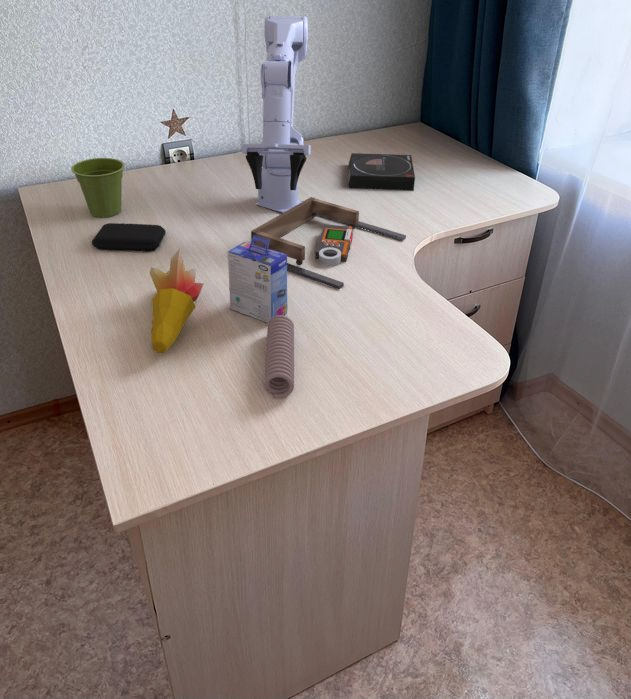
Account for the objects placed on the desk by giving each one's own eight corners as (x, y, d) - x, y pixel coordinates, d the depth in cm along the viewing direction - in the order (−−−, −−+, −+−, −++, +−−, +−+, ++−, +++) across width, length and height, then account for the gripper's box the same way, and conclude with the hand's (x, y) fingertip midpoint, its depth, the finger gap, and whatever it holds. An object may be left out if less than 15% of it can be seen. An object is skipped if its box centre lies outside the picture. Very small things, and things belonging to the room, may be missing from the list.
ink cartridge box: (289, 311, 124) (288, 242, 116) (272, 325, 121) (270, 254, 112) (247, 296, 129) (243, 228, 120) (229, 309, 125) (224, 239, 116)
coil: (266, 313, 116) (262, 378, 102) (292, 311, 116) (292, 375, 101) (269, 335, 119) (266, 401, 104) (295, 333, 119) (295, 398, 104)
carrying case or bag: (169, 232, 151) (105, 230, 152) (168, 220, 150) (103, 218, 150) (158, 254, 143) (90, 252, 143) (156, 242, 141) (87, 239, 141)
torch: (159, 378, 114) (176, 287, 132) (198, 361, 112) (210, 271, 130) (128, 347, 109) (150, 257, 127) (168, 329, 106) (185, 240, 125)
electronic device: (313, 256, 138) (324, 222, 150) (313, 268, 140) (324, 233, 151) (346, 259, 137) (354, 224, 149) (345, 271, 139) (353, 236, 151)
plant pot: (138, 215, 158) (131, 169, 151) (88, 226, 153) (79, 179, 146) (122, 198, 166) (115, 153, 159) (74, 208, 161) (64, 162, 154)
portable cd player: (348, 167, 186) (349, 153, 184) (409, 169, 186) (411, 155, 183) (347, 190, 173) (348, 175, 171) (413, 192, 172) (415, 177, 170)
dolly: (251, 250, 144) (250, 231, 141) (311, 214, 159) (311, 196, 156) (301, 267, 138) (301, 248, 135) (358, 228, 153) (359, 210, 150)
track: (237, 253, 143) (237, 249, 143) (311, 209, 161) (311, 206, 161) (339, 289, 131) (339, 286, 131) (405, 238, 150) (406, 235, 149)
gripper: (237, 120, 136) (237, 188, 140) (305, 121, 133) (304, 190, 137) (248, 123, 143) (247, 188, 146) (313, 124, 140) (312, 190, 143)
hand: (275, 189), depth 142 cm, fingers open, 7 cm apart
